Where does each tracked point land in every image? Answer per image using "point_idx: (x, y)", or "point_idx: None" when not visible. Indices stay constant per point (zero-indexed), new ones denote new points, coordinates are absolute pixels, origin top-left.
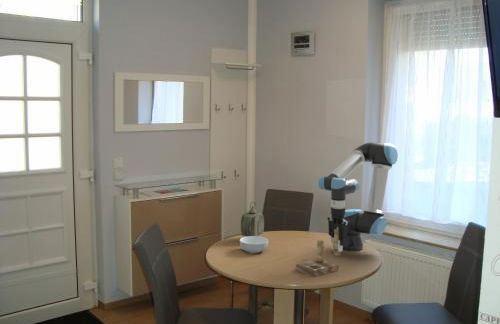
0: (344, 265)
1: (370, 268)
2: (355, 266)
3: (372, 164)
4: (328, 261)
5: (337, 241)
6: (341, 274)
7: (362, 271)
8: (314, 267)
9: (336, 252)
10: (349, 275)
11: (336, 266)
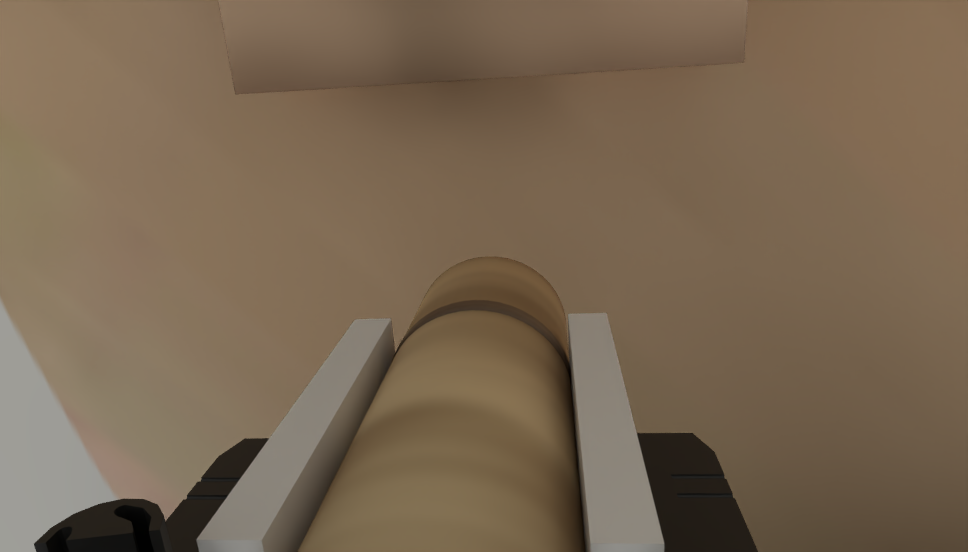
0: None
1: None
2: None
3: None
4: (502, 70)
5: (334, 480)
6: (99, 2)
7: (119, 375)
8: None
9: (436, 297)
10: (20, 89)
11: (236, 42)
